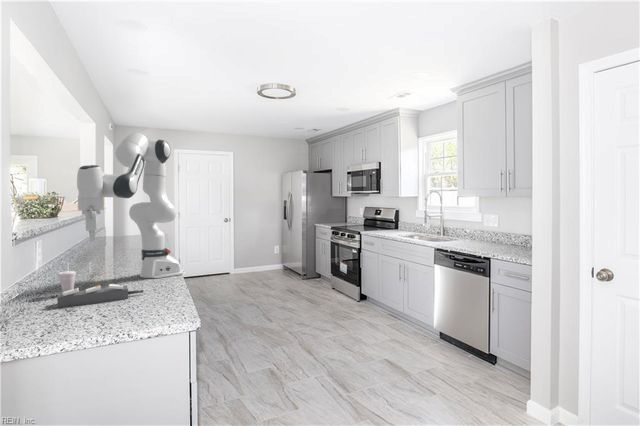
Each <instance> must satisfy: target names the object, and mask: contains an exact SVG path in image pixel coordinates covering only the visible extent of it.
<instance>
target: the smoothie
mask: <svg viewBox="0 0 640 426" xmlns="http://www.w3.org/2000/svg"><path fill="white" fill-rule="evenodd" d="M69 265H70V264H69V262H66V269H67V270H66V271H61V272H58V273H57V274H58V275H57V276H58V277H59V282H60V288H61V293H63V292H65V291H68V290H72V289H75V279H76V275H77V271H75V270H74V271H73V270H69V269H70V266H69Z"/></svg>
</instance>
